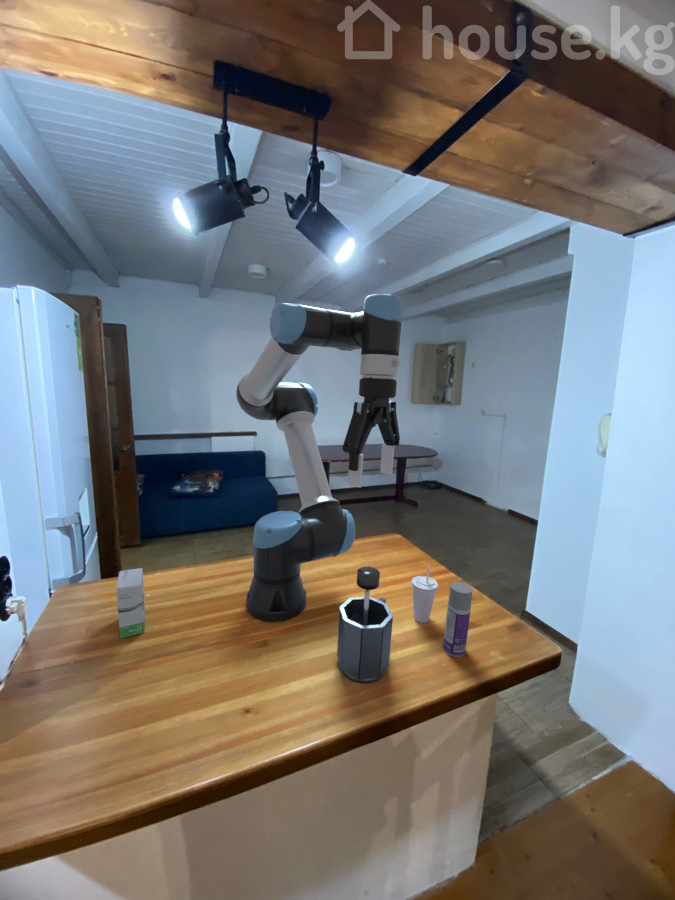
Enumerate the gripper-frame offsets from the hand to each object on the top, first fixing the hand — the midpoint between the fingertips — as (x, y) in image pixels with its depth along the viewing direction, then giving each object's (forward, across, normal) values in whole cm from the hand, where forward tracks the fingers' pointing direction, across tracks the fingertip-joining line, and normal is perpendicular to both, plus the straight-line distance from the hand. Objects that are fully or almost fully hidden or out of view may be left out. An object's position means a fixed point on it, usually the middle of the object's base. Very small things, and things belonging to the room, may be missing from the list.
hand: (371, 479), depth 77 cm
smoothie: (+37, +14, -9) cm, 40 cm away
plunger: (+33, -8, -5) cm, 35 cm away
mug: (+37, -7, -5) cm, 38 cm away
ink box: (+37, -30, +43) cm, 64 cm away
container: (+37, +8, -19) cm, 42 cm away
